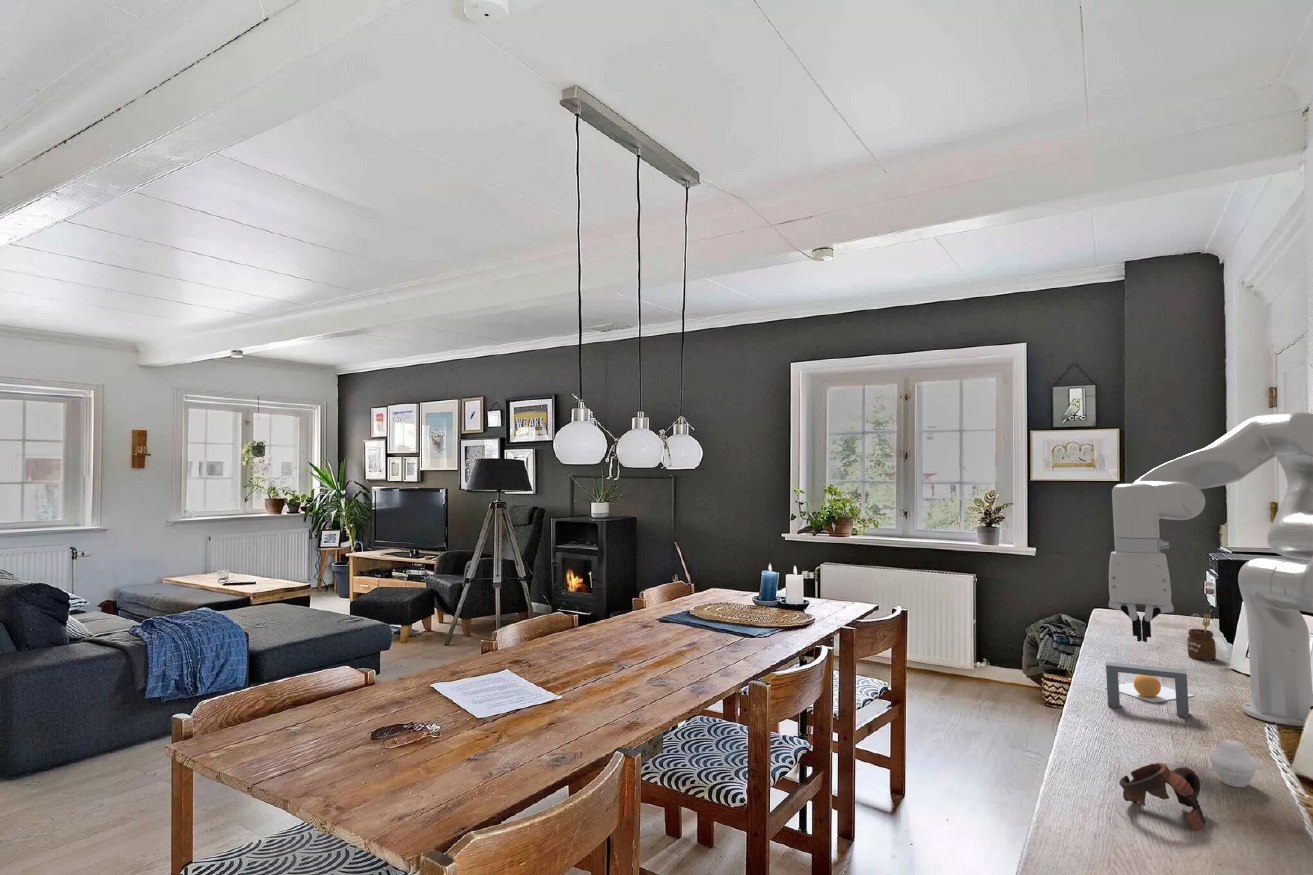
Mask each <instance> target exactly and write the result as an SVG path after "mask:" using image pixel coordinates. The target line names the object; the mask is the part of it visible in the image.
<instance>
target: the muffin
mask: <svg viewBox="0 0 1313 875" xmlns="http://www.w3.org/2000/svg"><path fill="white" fill-rule="evenodd" d="M1208 759H1209V761H1210V763H1211V766H1212V768H1213V769H1214V771H1215V773H1216V774H1217V776H1218V777H1219V779H1220V780H1221V782H1222V783H1223V784H1224V785H1227V786H1231V787H1235V788H1246V787H1247V786H1248V785H1249V784H1250V783H1251V781H1252V780H1253V778H1254V776H1255V775H1256V772H1257V770H1258V762H1257V761H1256V759H1254V758H1253V757H1252V756H1251V755H1250V753H1249V752H1248V751H1247V749H1246V745H1245V744H1243V743H1242V742H1240V741H1238V740H1235V739H1234V740H1233V739H1229V738H1228V739H1226V738H1225V739H1222V740H1220V741H1219V742H1218V745H1217V747H1216V748H1215V749H1214V750H1212V751H1211V752H1210V753H1209V757H1208Z"/></svg>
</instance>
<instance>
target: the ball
mask: <svg viewBox="0 0 1313 875" xmlns="http://www.w3.org/2000/svg"><path fill="white" fill-rule="evenodd" d="M1133 682H1134V687H1135V689H1136V691H1137V692H1138V693H1139V694H1141V695H1142V696H1145V697H1154V696H1156V695H1158V694H1159V692H1160V690H1161V686H1162V684H1161V683H1160V681H1159V679H1158V678H1157V676H1148V675H1139V674H1137V676H1135V678H1134V679H1133Z"/></svg>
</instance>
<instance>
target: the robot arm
mask: <svg viewBox="0 0 1313 875" xmlns="http://www.w3.org/2000/svg"><path fill="white" fill-rule="evenodd" d="M1273 458H1276V459H1277V461H1278V462H1279V464H1280V466H1281V468H1282V470H1283V472H1284V475H1285V477H1286V478H1285V479H1286V482H1287V483H1286V484H1287V488H1286V492H1285V495H1284V497H1283V500H1282V502H1281V504H1280V506H1279V508H1278V510H1277V513H1276V515H1274V516H1275V517H1274V519H1273V521H1272V522H1271V525H1270V527H1269V530H1268V533H1267V544H1268V547H1269V548H1270V549H1271V551H1273V552H1274V553H1276V554H1277V555H1280V556H1282V557H1288V558H1292V559H1285V558H1276V557H1258V558H1253V559H1251V560H1248V561H1246V562H1245V563H1244V564H1243V565H1242V566H1241V567H1240V570H1239V572H1238V576H1237V577H1238V578H1237V582H1238V587H1239V592H1240V595H1241V598H1242V601H1243V604H1244V610H1245V615H1246V623H1247V624H1246V625H1247V627H1246V628H1247V639H1248V640H1247V642H1248V644H1247V645H1248V659H1249V674H1250V692H1251V701H1247V702H1244V703H1243V704H1242V711H1243V712H1244V713H1245V714H1246V715H1248V716H1250V717H1253V718H1255V719H1258V720H1261V721H1264V722H1269V723H1273V722H1275V723H1274V724H1277V725H1278V724H1279V725H1284V726H1285V725H1286V726H1292V727H1304V726H1303V725H1304V723H1305V718H1306V717H1307V715H1308V713H1309V709H1310V707H1311V706H1313V676H1312V675H1313V674H1312V661H1311V645H1310V641H1311V640H1310V631H1309V628H1308V627H1309V626H1308V625H1307V622H1306V619H1305V618H1304V616H1303V614H1302V613H1301V612H1306V613H1311V614H1313V413H1312V412H1311V413H1310V412H1305V411H1304V412H1303V411H1301V412H1300V411H1296V412H1294V411H1293V412H1283V413H1282V412H1281V413H1270V414H1269V413H1266V414H1259V415H1255V416H1252V417H1250V418H1248V419H1246V420H1245V421H1243V422H1241V423H1239V424H1238V425H1237V426H1235V427H1234V428H1232V429H1231V430H1229V431H1228V432H1227V433H1225V434H1224V435H1222V436H1221V437H1219V438H1218V439H1216V440H1215V441H1213V442H1212V443H1210V444H1208V445H1207V446H1205V447H1203V448H1201V449H1198V450H1196V451H1193V452H1190V453H1187V454H1185V455H1182V456H1180V457H1177V458H1175V459H1173V460H1170V461H1167V462H1165V463H1163V464H1161V465H1159V466H1157V467H1154V468H1152V469H1151V470H1149V471H1148V472H1147V473H1145V474H1143V475H1142V476H1140V477H1138V478H1137V479H1136V480H1135V481H1134V482H1132V483H1119V484H1116V485H1114V486H1113V487H1112V489H1111V500H1112V501H1111V503H1112V518H1113V519H1112V521H1113V538H1114V551H1111V552H1110V555H1109V564H1108V591H1109V593H1108V594H1109V600H1108V601H1109V602H1108V608H1111V609H1114V610H1118V611H1122V612H1123V613H1124V614H1125V615H1126V616H1127V617H1128V618H1129V619H1130V620H1131V623H1132V624H1131V626H1132V636H1133V637H1136V642H1138V643H1139V642H1144V643H1148V638H1152V629H1151V628H1152V627H1151V625H1152V624H1151V622H1152V620H1153V619H1155V618H1156V617H1158V615H1160V614H1167V613H1168V614H1169V613H1173V612H1174V610H1175V609H1174V608H1175V607H1174V605H1173V603H1172V585H1171V578H1170V569H1169V563H1168V561H1167V560H1168V559H1167V557H1166V554H1165V553H1164V552H1163V553H1162V552H1161V550H1164V549H1170V542H1169V541H1168V540H1167V541H1165V540H1162V539H1160V523H1159V522H1160V519H1164V520H1171V521H1172V520H1175V521H1185V520H1191V519H1193V518H1195V517H1197V516H1199V515H1200V514H1201V513H1202V512H1203V510H1204V508H1205V506H1206V497H1205V495H1204V493H1203V491H1202V490H1203V489H1209V488H1210V489H1211V488H1215V487H1217V488H1218V487H1222V486H1225V485H1229V484H1233V483H1234V484H1235V483H1236V482H1238V481H1240V480H1242V479H1244V478H1245V477H1246V476H1248V475H1249V474H1251V473H1252V472H1254V471H1255V470H1256V469H1258V468H1260V467H1261V466H1262V465H1263V464H1265V463H1267V462H1268V461H1270V460H1271V459H1273ZM1293 559H1297V560H1293ZM1299 560H1306V561H1299ZM1307 561H1309V562H1307ZM1136 606H1145V609H1144V615H1143V616H1142V619H1140V615H1139V614H1138V611H1137V607H1136ZM1300 611H1301V612H1300ZM1301 725H1302V726H1301Z"/></svg>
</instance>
